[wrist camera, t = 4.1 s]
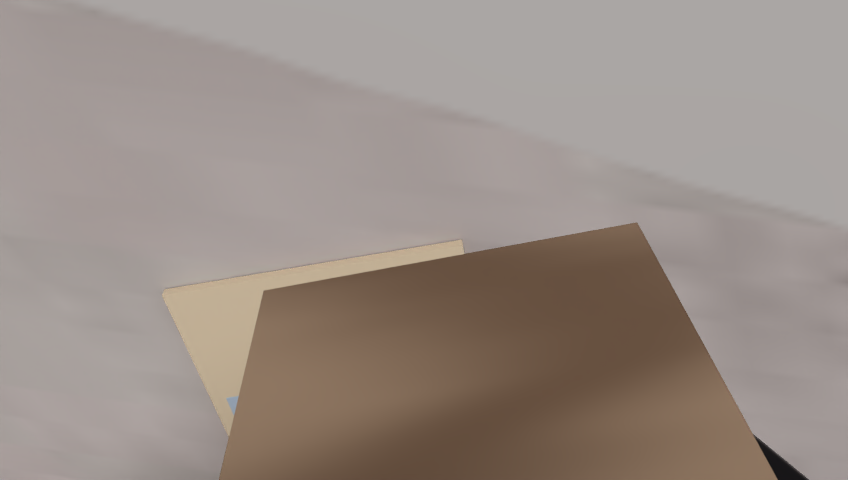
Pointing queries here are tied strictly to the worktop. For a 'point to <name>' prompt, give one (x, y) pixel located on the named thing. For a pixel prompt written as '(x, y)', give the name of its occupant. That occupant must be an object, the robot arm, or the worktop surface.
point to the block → (489, 373)
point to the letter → (238, 309)
